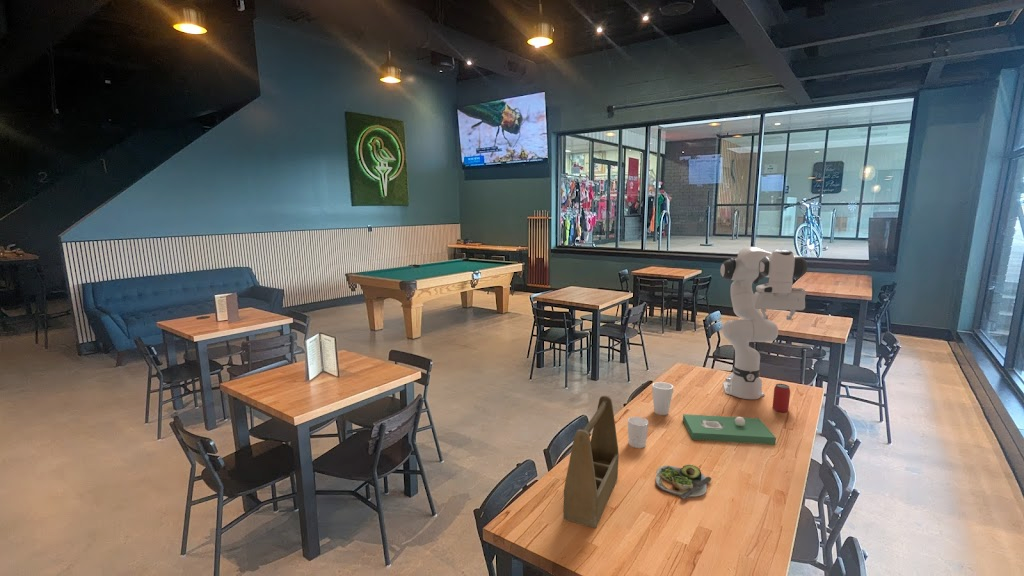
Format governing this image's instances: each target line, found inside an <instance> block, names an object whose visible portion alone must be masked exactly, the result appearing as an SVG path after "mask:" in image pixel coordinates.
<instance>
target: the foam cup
mask: <svg viewBox="0 0 1024 576" xmlns="http://www.w3.org/2000/svg"><path fill="white" fill-rule="evenodd" d="M651 392H652V400H653V401H652V402H653V411H654V413H655V414H657V415H660V416H666V415H669V413H670V407H671V402H672V397H673V393H674V385H673V384H671V383H669V382H665V381H657V382H653V383H652V385H651Z"/></svg>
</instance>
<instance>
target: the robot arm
mask: <svg viewBox="0 0 1024 576" xmlns="http://www.w3.org/2000/svg"><path fill="white" fill-rule="evenodd" d="M738 251H739V252H738V253H737V256H736V257H737V258H733V257H730V258H729V259H727V260H725V261H723V262H722V263H721V264H720V265H721V266H720V270H719V271H720V276H721V278H722V279H723V280H726V281H732V283H730V288H729V289H730V300H731V305H732V309H733V313H734V314H735V315H736V317H739V318H740V319H739V318H738V319H729V320H726V321H725V322H724V323H723V325H722V328H721V331H722V335H723V337H724V338H725V339H726V340H728V341H729V342H730V344H731V345H732V346H733V348H734V358H735V360H734V365H733V368H732V372H731V373H730V374H729V375H727V377H725V382H722V386H723V390H724V393H725V394H726V395H730V396H732V397H733V396H734V397H736V398H740V399H743V400H744V399H745V400H759V399H760V398H761V397H764V396H765V392H763V380H762V379H761V378H760V374H761V369H760V361H761V355H760V353H759V352H758V350H756V349H755V348H753V347H751V346H750V343H752V342H753V343H755V342H756V343H766V342H767V343H768V342H773V341H775V340H776V339H777V338H778V336H779V327H778V325H777V324H776V323H775V322H774V321H772V320H770V319H769V315H768V314H766V312H767V310H775V311H776V310H777V311H779V310H780V311H781V310H782V311H789V312H790V313H788V315H786V316H785V317H786V320H787V321H792V320H793V316H794V315H795V313H796V311H804V310H805V309H806V299H805V298H806V295H807V292H806V290H805V289H803V288H800V287H798V288H797V287H795V288H794V287H793V282H794V281H793V279H797V280H799V279H801V278H802V277H803V276H805V274H806V273H807V272H808V263H807V262H808V261H806V259H805V258H804V257H802V256H801V255H794V252H793V251H791V250H789V249H783V248H782V249H781V248H780V249H777V248H776V249H774V250H773V251H772V252H770V251H768V250H764V249H762V248H760V247H757V246H745V247H743V248H741V249H740V250H738ZM764 278H769V279H768V282H766V283H763V284H759V282H760V281H762V280H763V279H764ZM757 284H759V285H757ZM753 285H756V287H755V290H756V291H755V292H754V291H753V290H754V289H753Z"/></svg>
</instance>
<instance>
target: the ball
mask: <svg viewBox="0 0 1024 576" xmlns="http://www.w3.org/2000/svg"><path fill="white" fill-rule="evenodd" d="M736 417H737V418H735V424H736V425H737V426H744V425H745V420H744V418H745V417H743V418H742V416H736Z"/></svg>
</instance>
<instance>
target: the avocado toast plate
mask: <svg viewBox="0 0 1024 576" xmlns="http://www.w3.org/2000/svg"><path fill="white" fill-rule="evenodd" d="M663 480H664V481H666V482H668V483H671V484H672V486H673V488H674V489H672V488H668V487H666V486H665V485H664V483H663ZM710 481H712V478H711V476H705V475H704V474H702V472H701V469H700V468H699V467H698V466H696V465H694V464H685V465H683V466H682V467H678V466H674V465H663V466H660V467H658V469H657V471H656V476H655V484H656V486H657V487H658V488H659V489H661V490H662V491H663V492H665V493H667V494H669V495H673V496H678V497H679V498H680V499H682V500H685V499H688V498H697V497H698V498H699V497H701V496H704V495H705V494H706V492H707V484H708V483H709V482H710Z"/></svg>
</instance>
